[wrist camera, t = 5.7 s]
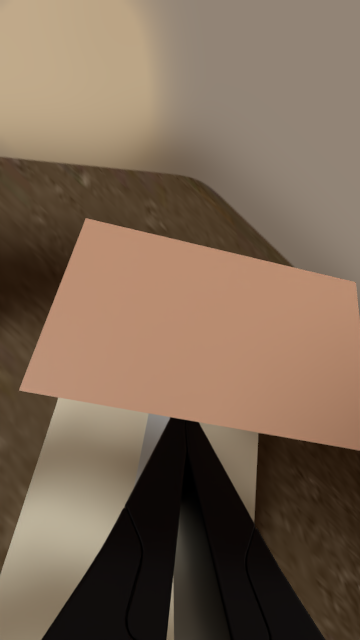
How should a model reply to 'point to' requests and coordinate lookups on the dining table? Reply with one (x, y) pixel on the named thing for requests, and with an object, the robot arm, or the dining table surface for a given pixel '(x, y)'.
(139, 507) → the robot arm
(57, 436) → the track
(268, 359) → the tan rectangular block
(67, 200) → the dining table surface
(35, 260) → the dining table surface
